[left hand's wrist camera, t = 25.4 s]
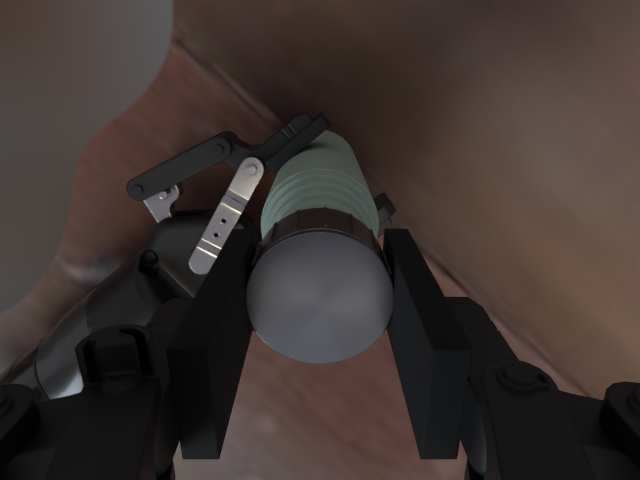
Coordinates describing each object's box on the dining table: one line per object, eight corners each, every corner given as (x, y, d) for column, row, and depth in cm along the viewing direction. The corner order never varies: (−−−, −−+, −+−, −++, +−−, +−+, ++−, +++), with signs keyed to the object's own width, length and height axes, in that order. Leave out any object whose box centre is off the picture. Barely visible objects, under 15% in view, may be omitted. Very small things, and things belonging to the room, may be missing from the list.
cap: (271, 190, 13) (262, 213, 11) (402, 225, 14) (417, 254, 12) (243, 307, 15) (230, 346, 13) (361, 335, 15) (368, 378, 13)
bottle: (287, 124, 29) (243, 199, 12) (361, 134, 29) (418, 222, 12) (280, 196, 30) (232, 348, 14) (349, 205, 31) (385, 365, 14)
